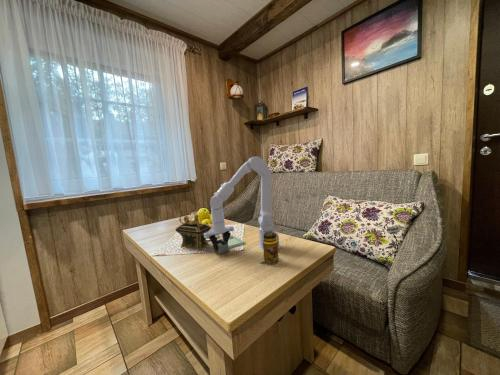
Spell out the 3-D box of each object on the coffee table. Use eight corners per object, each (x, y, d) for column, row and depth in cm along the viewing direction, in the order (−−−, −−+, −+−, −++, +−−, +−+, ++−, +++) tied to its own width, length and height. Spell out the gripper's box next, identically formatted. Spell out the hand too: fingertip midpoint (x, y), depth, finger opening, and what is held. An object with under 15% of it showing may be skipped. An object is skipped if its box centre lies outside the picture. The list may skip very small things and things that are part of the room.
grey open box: (228, 252, 100) (228, 243, 100) (220, 254, 98) (219, 246, 97) (220, 246, 107) (220, 238, 107) (212, 249, 105) (212, 241, 105)
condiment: (275, 267, 85) (273, 238, 83) (256, 263, 89) (254, 235, 88) (282, 259, 91) (280, 231, 90) (264, 256, 95) (262, 229, 94)
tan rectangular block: (233, 254, 98) (232, 246, 98) (221, 258, 95) (220, 250, 95) (224, 248, 106) (223, 241, 106) (213, 252, 103) (212, 244, 102)
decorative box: (213, 244, 112) (210, 208, 110) (200, 252, 104) (196, 212, 102) (185, 240, 122) (182, 206, 120) (172, 246, 114) (167, 210, 111)
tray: (244, 244, 109) (244, 241, 109) (228, 250, 104) (227, 246, 104) (233, 238, 120) (232, 235, 120) (217, 242, 115) (217, 239, 115)
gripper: (228, 216, 108) (230, 242, 109) (200, 222, 100) (203, 250, 102) (234, 219, 102) (237, 246, 103) (205, 225, 94) (208, 255, 96)
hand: (220, 248), depth 102 cm, fingers closed on grey open box, 4 cm apart
